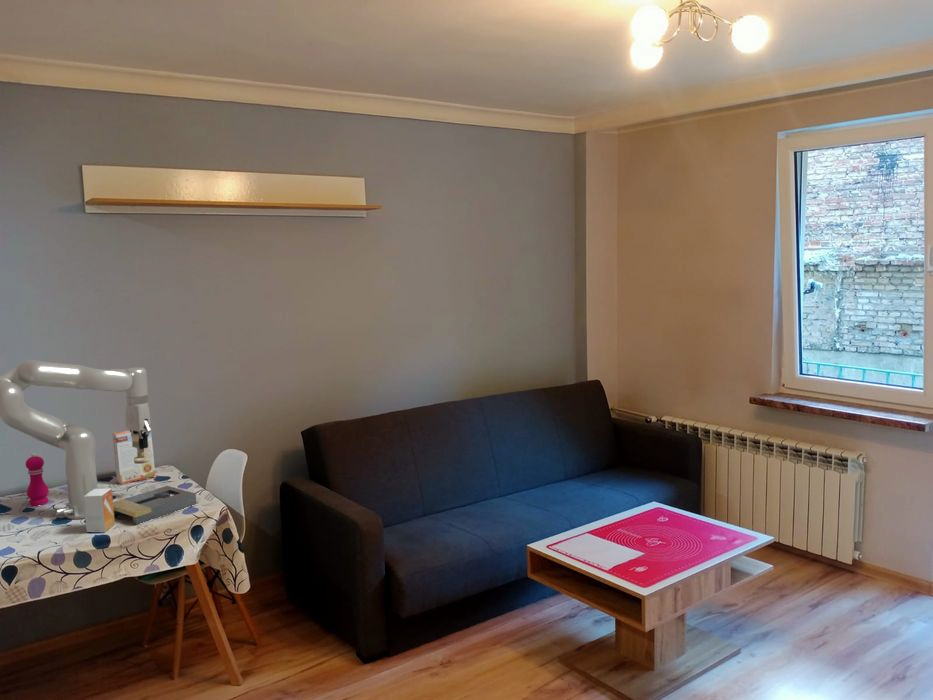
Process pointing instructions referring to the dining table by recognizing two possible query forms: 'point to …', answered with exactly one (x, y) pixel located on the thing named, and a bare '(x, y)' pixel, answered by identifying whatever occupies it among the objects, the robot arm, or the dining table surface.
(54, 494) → the dining table surface
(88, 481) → the robot arm
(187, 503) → the keyhole plate
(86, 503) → the small box
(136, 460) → the maple peg
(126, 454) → the cracker box
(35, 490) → the pepper mill
